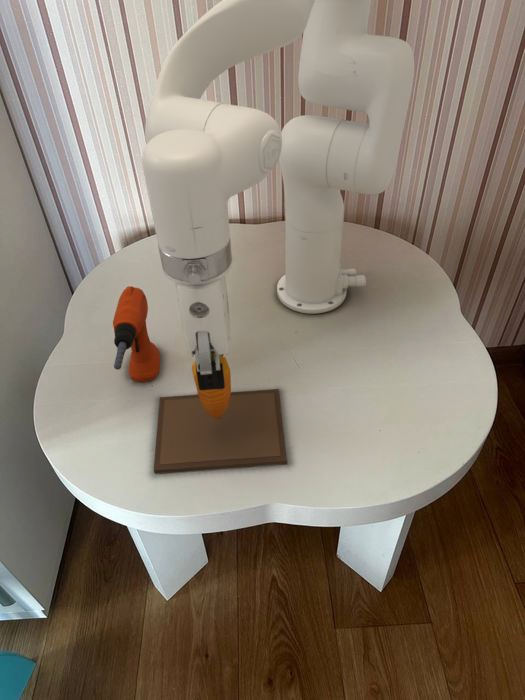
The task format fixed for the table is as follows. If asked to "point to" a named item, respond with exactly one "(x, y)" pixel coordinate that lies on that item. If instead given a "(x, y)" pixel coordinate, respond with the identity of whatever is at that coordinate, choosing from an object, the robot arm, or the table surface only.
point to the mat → (220, 433)
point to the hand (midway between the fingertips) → (212, 370)
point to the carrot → (215, 392)
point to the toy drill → (135, 336)
